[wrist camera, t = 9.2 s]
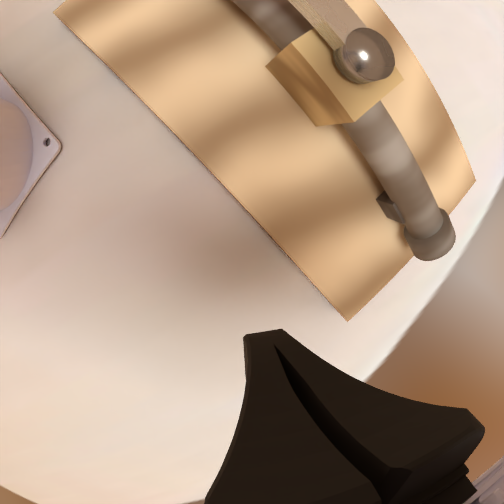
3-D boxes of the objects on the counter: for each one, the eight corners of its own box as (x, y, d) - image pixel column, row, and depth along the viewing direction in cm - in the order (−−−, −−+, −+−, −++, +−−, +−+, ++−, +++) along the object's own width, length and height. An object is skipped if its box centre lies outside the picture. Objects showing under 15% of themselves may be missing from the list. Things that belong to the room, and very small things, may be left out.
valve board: (60, 20, 11) (24, -16, 6) (253, -92, 10) (273, -135, 5) (338, 311, 22) (377, 355, 17) (463, 177, 21) (514, 190, 16)
